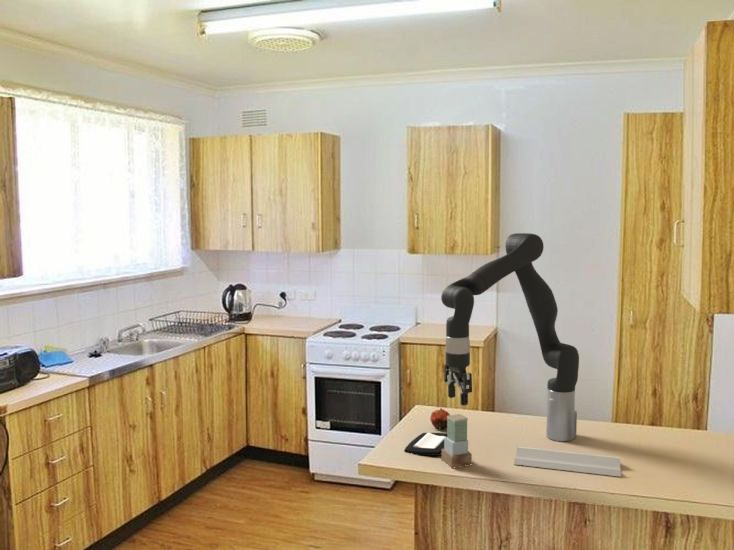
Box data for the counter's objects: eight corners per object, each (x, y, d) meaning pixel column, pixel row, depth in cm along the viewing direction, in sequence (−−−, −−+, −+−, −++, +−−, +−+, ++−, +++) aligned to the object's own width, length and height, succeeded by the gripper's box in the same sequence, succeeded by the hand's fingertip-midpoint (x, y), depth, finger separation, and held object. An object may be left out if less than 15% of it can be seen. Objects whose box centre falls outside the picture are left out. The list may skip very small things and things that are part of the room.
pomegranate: (450, 437, 235) (455, 414, 242) (445, 425, 231) (450, 402, 238) (431, 436, 238) (435, 414, 245) (425, 425, 234) (430, 402, 241)
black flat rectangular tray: (421, 429, 234) (458, 430, 227) (422, 436, 234) (459, 439, 228) (400, 447, 216) (440, 450, 210) (401, 456, 216) (440, 459, 210)
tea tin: (459, 435, 209) (459, 413, 208) (467, 440, 205) (467, 418, 204) (446, 437, 207) (446, 415, 206) (454, 442, 203) (454, 420, 202)
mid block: (459, 447, 210) (459, 435, 209) (468, 453, 205) (468, 440, 204) (444, 449, 208) (444, 437, 207) (452, 455, 203) (452, 443, 202)
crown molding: (514, 467, 205) (514, 455, 204) (518, 453, 216) (518, 442, 215) (621, 479, 194) (621, 467, 194) (619, 464, 206) (619, 453, 205)
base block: (461, 458, 211) (461, 446, 211) (471, 465, 205) (471, 453, 204) (441, 461, 209) (441, 448, 208) (451, 469, 202) (451, 456, 202)
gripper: (479, 354, 197) (479, 406, 199) (458, 344, 210) (458, 393, 212) (457, 356, 194) (457, 409, 196) (436, 346, 208) (437, 396, 210)
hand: (457, 401), depth 204 cm, fingers open, 8 cm apart
